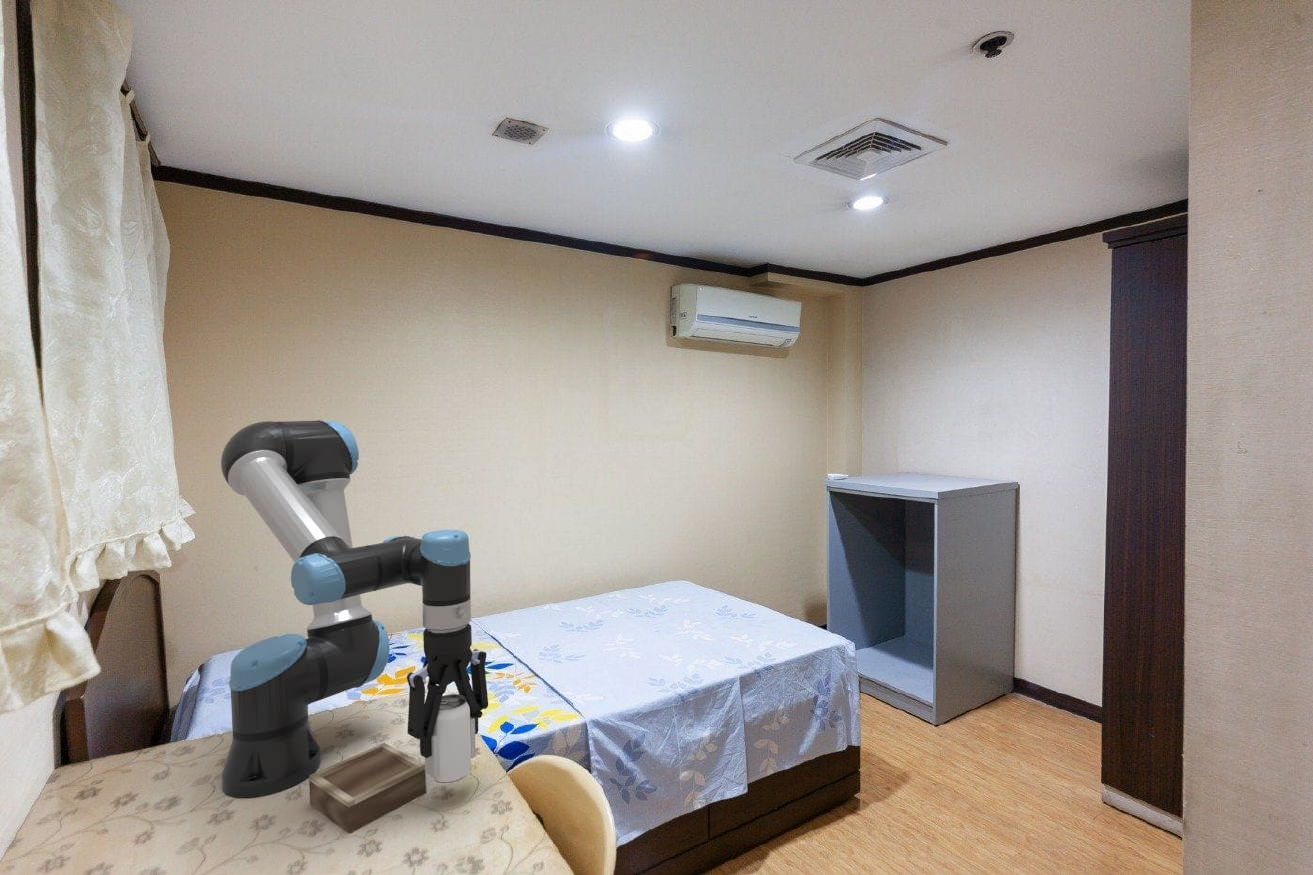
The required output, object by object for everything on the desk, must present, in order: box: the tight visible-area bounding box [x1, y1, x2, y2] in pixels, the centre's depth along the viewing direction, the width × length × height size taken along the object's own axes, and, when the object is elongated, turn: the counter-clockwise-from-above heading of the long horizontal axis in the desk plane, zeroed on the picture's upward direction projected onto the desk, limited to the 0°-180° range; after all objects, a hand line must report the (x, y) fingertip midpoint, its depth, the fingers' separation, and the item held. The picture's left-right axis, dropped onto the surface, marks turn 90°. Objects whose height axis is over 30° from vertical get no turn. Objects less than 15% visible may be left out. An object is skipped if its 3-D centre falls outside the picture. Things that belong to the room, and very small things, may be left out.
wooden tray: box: [308, 742, 427, 834], centre depth 105 cm, size 13×13×5 cm
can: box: [430, 693, 472, 784], centre depth 104 cm, size 6×6×12 cm
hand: (450, 764), depth 104 cm, fingers closed on can, 6 cm apart
